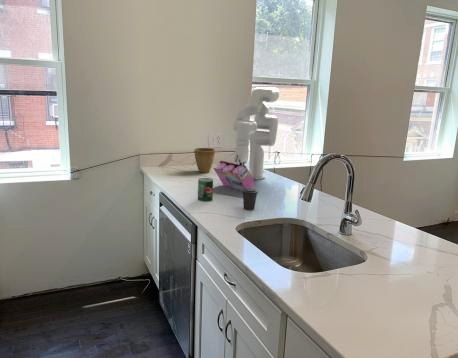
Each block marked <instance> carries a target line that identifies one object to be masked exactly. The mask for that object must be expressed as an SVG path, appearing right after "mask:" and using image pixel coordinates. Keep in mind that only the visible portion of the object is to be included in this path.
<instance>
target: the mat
mask: <svg viewBox="0 0 458 358" xmlns="http://www.w3.org/2000/svg"><path fill="white" fill-rule="evenodd" d="M213 194H220V195H223V196H230V197H235V198H240V199H243V192H242V190H239V189H235V188H232V187H229V186H224V185H223V186H221V185H218V186H215V187H213Z"/></svg>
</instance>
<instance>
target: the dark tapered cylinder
mask: <svg viewBox="0 0 458 358" xmlns="http://www.w3.org/2000/svg"><path fill="white" fill-rule="evenodd" d="M242 192H243V198H242V200H243V204H242V205H243V206H242V207H243V210H244V211H254V210H255V208H256V201H257V195H258V193H259V191H258V190H257V189H256V188H255V189H254V188H251V189H250V188H247V189H243V190H242Z"/></svg>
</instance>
